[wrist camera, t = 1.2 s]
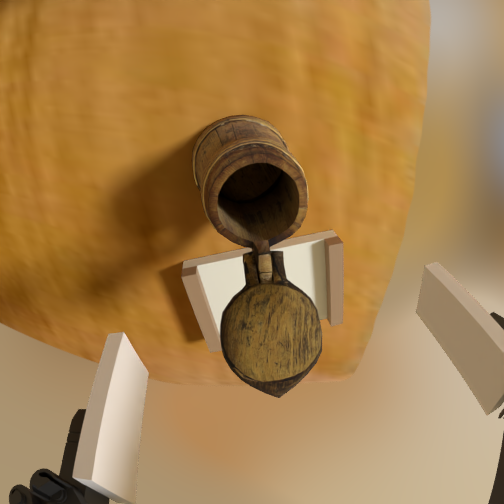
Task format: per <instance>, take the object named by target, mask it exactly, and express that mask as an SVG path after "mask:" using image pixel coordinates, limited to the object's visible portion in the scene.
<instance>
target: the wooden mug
mask: <svg viewBox="0 0 504 504" xmlns="http://www.w3.org/2000/svg"><path fill="white" fill-rule="evenodd" d="M192 166H193V173H194V179H195V182H196V185H197V187H198V188H199V190H200V191H201V200H202V204H203V208H204V212H205V214H206V216H207V218H208V219H209V221H210V223H211V224H212V226H213V228H214V229H216V230H217V232H218V233H220V234H221V235H223V236H224V237H226V238H227V239H229V240H230V241H232V242H233V243H236V244H238V245H241V246H244V247H248V248H252V251H251V252H248V253H245V254H243V266H244V274H245V282H246V285H245V286H244V287H243V288H242V290H240V291H239V292H238V293H237V294H235V295H234V296H233V297H232V299H231V300H230V302H229V303H228V305H227V306H226V307H225V309H224V310H223V312H222V318H221V323H220V342H221V348H222V352H223V355H224V358H225V360H226V362H227V363H228V365H229V367H230V368H231V370H232V371H233V372H234V373H235V374H236V375H237V376H238V377H239V378H240V379H241V380H242V381H244V382H245V383H247V384H248V385H250V386H252V387H254V388H256V389H258V390H260V391H262V392H264V393H266V394H269V395H272V396H275V397H278V398H280V397H281V396H282V395H284V394H285V393H287V392H288V391H289V390H290V389H291V388H293V387H294V386H296V385H297V384H298V383H299V382H300V381H301V380H302V379H303V378H304V377H305V376H306V375H307V374H308V373H309V371H310V370H311V369H312V368H313V366H314V365H315V364H316V362H317V360H318V358H319V356H320V354H321V352H322V331H321V325H320V320H319V315H318V310H317V308H316V306H315V305H314V303H313V301H312V299H311V298H310V297H309V296H308V295H307V294H306V293H305V292H304V291H303V290H301V289H300V288H298V287H297V286H296V285H294V284H293V283H292V282H290V281H289V280H288V279H287V277H286V272H285V267H284V257H283V251H270V247H271V246H273V245H275V244H277V243H279V242H281V241H283V240H285V239H286V238H288V237H290V236H291V235H293V234H294V233H295V232H296V231H297V230H298V229H299V228H300V227H301V225H302V223H303V221H304V218H305V216H306V211H307V203H308V185H307V182H306V178H305V175H304V172H303V169H302V167H301V166H300V164H299V162H298V161H297V160H296V159H295V157H294V156H293V155H292V153H291V152H289V149H288V146H287V144H286V142H285V141H284V140H283V138H282V137H281V134H280V132H279V131H278V130H277V129H276V128H275V127H274V126H273V125H271V124H270V123H269V122H268V121H265V120H262V119H260V118H257V117H253V116H247V115H236V116H229V117H226V118H223V119H220V120H218V121H216V122H215V123H213V124H212V125H210V126H209V127H207V128H206V129H205V130H204V132H203V133H202V134H201V135H200V137H199V138H198V139H197V142H196V144H195V146H194V148H193V154H192Z"/></svg>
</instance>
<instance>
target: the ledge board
mask: <svg viewBox="0 0 504 504" xmlns="http://www.w3.org/2000/svg"><path fill="white" fill-rule="evenodd" d="M251 251H252V248H243V249H238V250H234V251H229V252H224V253H220V254H215V255H210V256H205V257H201V258H196V259H191V260H187V261H184V262H183V268H182V275H181V278H182V281H183V283H184V286H185V289H186V292H187V294H188V297H189V300H190V302H191V305H192V308H193V310H194V313H195V316H196V318H197V321H198V323H199V326H200V328H201V331H202V333H203V336H204V338H205V341H206V343H207V346H208V348H209V351H210V353H211V352H216V351H222V348H221V342H220V323H221V318H222V312H223V310H224V309H225V307H226V306H227V305H228V303H229V302H230V300H231V299H232V297H233V296H234V295H235V294H237V293H238V292H239V291H240V290H242V288H243V287H244V286H245V285H246V282H245V274H244V266H243V254H245V253H248V252H251ZM270 251H283V257H284V267H285V272H286V277H287V279H288V280H289V281H290V282H292V283H293V284H294V285H296V286H297V287H298V288H300V289H301V290H303V291H304V292H305V293H306V294H307V295H308V296H309V297H310V298H311V299H312V301H313V303H314V305H315V306H316V308H317V310H318V315H319V320H322V319H326V318H327V319H328V321H329V323H330V325H331V326H334V325H338V324H342V323H343V288H344V269H343V242H342V241H341V240H340V238H339V237H338V236H337V234H336V233H335V232H334V231H333V230H329V231H324V232H320V233H315V234H310V235H305V236H300V237H296V238H291V239H286V240H283V241H281V242H279V243H277V244H275V245H273V246H271V247H270Z"/></svg>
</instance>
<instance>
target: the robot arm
mask: <svg viewBox="0 0 504 504" xmlns="http://www.w3.org/2000/svg"><path fill="white" fill-rule="evenodd" d="M416 313H417V314H418V316H419V317H420V318H421V320H422V321H423V322H424V324H425V325H426V326H427V328H428V329H429V330H430V332H431V333H432V334H433V336H434V337H435V338H436V340H437V341H438V343H439V344H440V345H441V347H442V348H443V350H444V351H445V352H446V354H447V355H448V357H449V358H450V360H451V361H452V362H453V364H454V365H455V367H456V368H457V370H458V371H459V373H460V374H461V375H462V377H463V378H464V380H465V382H466V383H467V384H468V386H469V388H470V389H471V391H472V392H473V394H474V395H475V397H476V399H477V400H478V402H479V403H480V405H481V407H482V408H483V410H484V411H485V413H486V415H489V414H490V413H492V412H493V411H494V410H496V409H497V408H499V407H500V406H501V405H502V403H503V402H504V318H503V317H501V316H499V315H498V314H496V313H494V312H493V313H491V314H489V313H488V312H487V311H486V310H485V309H484V308H483V307H482V306H481V305H480V303H479V302H478V301H477V300H476V299H475V298H474V297H473V296H472V295H471V294H470V293H469V292H468V291H467V290H466V289H465V288H464V287H463V286H462V285H461V284H460V283H459V282H458V281H457V280H456V279H455V278H454V277H453V276H452V275H451V274H450V273H449V272H447V270H445V269H444V268H443V267H442V266H441V265H440V264H439V263H438V262H435V263H432V264H428V265H425V266H424V272H423V278H422V284H421V289H420V295H419V300H418V305H417V309H416ZM148 375H149V373H148V371H147V369H146V368H145V366H144V365H143V363H142V362H141V360H140V358H139V357H138V355H137V353H136V352H135V350H134V349H133V347H132V345H131V343H130V342H129V340H128V338H127V337H126V335H125V333H124V332H120V333H113V334H108V337H107V340H106V343H105V347H104V350H103V353H102V356H101V359H100V363H99V366H98V369H97V373H96V376H95V380H94V383H93V387H92V390H91V394H90V398H89V401H88V405H87V409H79V410H78V411H77V413H76V414H75V416H74V417H73V419H72V422H71V425H70V430H69V432H70V433H69V434H68V437H67V443H66V446H65V450H64V455H63V460H62V465H61V470H60V474H59V476H58V475H56V474H55V473H53V472H52V471H50V470H48V469H40V470H37V471H36V472H35V473H34V474H33V475H32V477H31V480H30V489H28V488H27V487H25V486H23V485H16V486H14V487H13V488H12V490H11V491H10V495H9V503H10V504H109V499H111V500H113V501H115V502H118V503H125V504H136V486H137V472H138V459H139V448H140V438H141V428H142V419H143V411H144V403H145V395H146V388H147V381H148ZM503 415H504V409H503V410H502V412H501V413H500V415H499V418H501V417H502V416H503ZM488 504H504V433H503V440H502V447H501V453H500V459H499V463H498V468H497V473H496V477H495V481H494V485H493V489H492V493H491V496H490V500H489V503H488Z"/></svg>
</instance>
